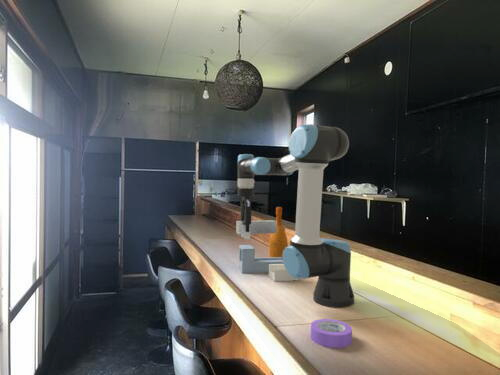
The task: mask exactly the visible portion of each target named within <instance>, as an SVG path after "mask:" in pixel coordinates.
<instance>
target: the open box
mask: <svg viewBox="0 0 500 375" xmlns="http://www.w3.org/2000/svg"><path fill="white" fill-rule="evenodd" d="M255 251H256V250H255V247H254V246H253V245H251V244H239V245H238V269H239V271H240V272H241V274H256V273H257V274H258V273H269V264H284V263H283V260H282V257H269V256H268V257H256V256H255V255H256V252H255Z"/></svg>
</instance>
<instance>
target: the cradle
mask: <svg viewBox="0 0 500 375" xmlns="http://www.w3.org/2000/svg"><path fill="white" fill-rule="evenodd" d="M268 276H269V277H270V278H271V280H272V281H273V282H294V281H293V280H298V281H299V279H296V278H293V277H292V276H290V275H289V273H288V272H287V270H286V268H285V266H284V264H269V272H268Z"/></svg>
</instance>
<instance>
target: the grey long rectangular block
mask: <svg viewBox="0 0 500 375" xmlns="http://www.w3.org/2000/svg"><path fill="white" fill-rule="evenodd" d="M243 223H245V222H244V221H240V220H236V224H235V225H236V226H235V227H236V228H235V230H236V231H235V232H236V234H237V235H241V234H244V225H243ZM272 233H277V221H276V220H273V219H269V220H267V219H266V220H258V219H257V220H251V224H250V235H256V234H257V235H258V234H262V235H264V234H272Z"/></svg>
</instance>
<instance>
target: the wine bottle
mask: <svg viewBox="0 0 500 375" xmlns="http://www.w3.org/2000/svg"><path fill="white" fill-rule="evenodd" d="M275 215H276V218H275V219H276V220H275V221H277V233H270V237H269V242H268V247H269V248H268V255H269V256H268V258H269V257H282V260H283V251H284V250H285V248H286V247H288V246H289V245H288V238H287V234H286V227H285V225H283V222H282V216H283V208H282V206H276V208H275Z"/></svg>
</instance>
